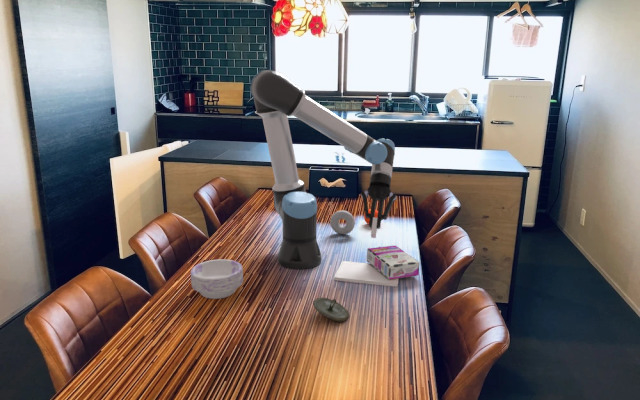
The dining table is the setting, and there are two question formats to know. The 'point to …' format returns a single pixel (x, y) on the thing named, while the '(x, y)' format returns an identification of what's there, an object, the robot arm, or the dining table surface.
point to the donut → (339, 228)
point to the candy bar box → (393, 262)
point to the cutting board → (362, 274)
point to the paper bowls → (217, 278)
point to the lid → (331, 309)
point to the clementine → (369, 213)
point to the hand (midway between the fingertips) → (373, 236)
